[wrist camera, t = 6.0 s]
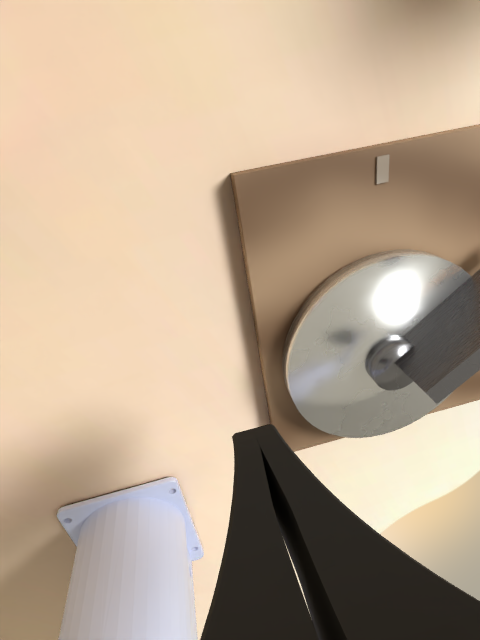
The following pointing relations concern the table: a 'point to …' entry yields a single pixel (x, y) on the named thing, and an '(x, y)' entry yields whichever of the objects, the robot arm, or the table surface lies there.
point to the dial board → (350, 236)
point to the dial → (383, 343)
